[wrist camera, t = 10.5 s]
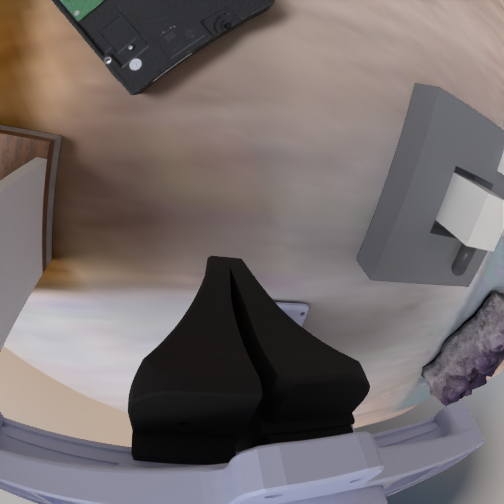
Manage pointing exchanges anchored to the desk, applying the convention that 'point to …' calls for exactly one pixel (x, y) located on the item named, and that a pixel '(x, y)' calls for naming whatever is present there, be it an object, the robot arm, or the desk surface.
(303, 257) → the desk surface
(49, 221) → the tall grey upright box
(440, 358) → the geode
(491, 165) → the socket plate
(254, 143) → the desk surface
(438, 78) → the desk surface
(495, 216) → the plug
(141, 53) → the disk drive
